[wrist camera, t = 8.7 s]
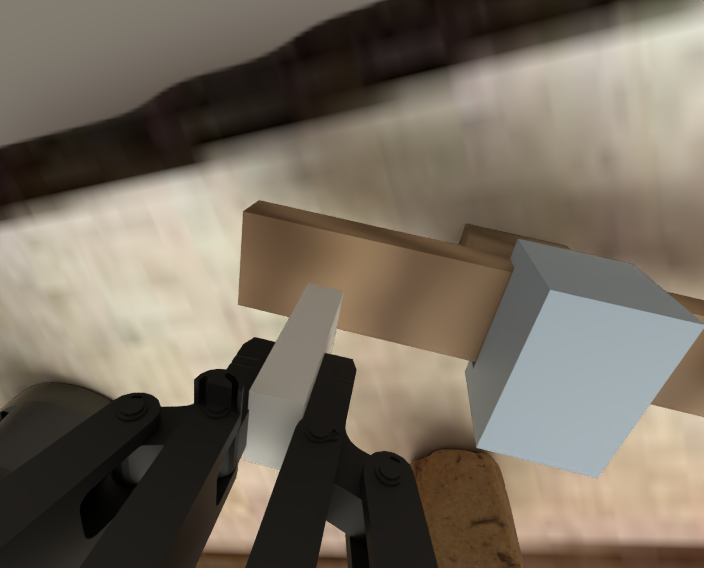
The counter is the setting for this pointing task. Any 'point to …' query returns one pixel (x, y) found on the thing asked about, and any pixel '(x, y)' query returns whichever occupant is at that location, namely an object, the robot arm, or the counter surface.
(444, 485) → the block
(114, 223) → the counter surface
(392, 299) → the beam
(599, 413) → the rider
